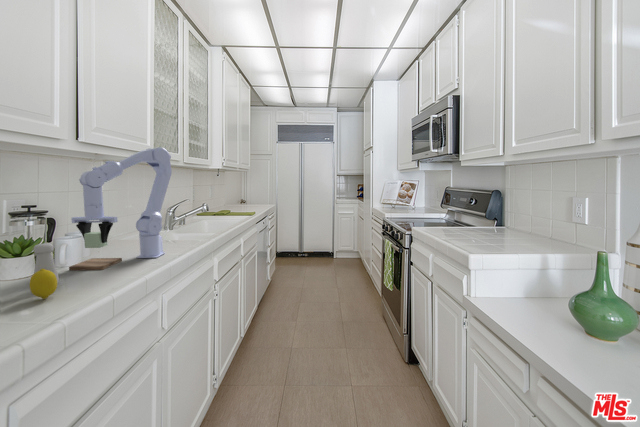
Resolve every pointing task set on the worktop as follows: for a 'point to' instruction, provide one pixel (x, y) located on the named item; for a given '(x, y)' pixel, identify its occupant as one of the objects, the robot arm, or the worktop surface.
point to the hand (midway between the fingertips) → (96, 242)
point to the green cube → (93, 240)
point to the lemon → (43, 283)
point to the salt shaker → (45, 258)
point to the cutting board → (95, 264)
